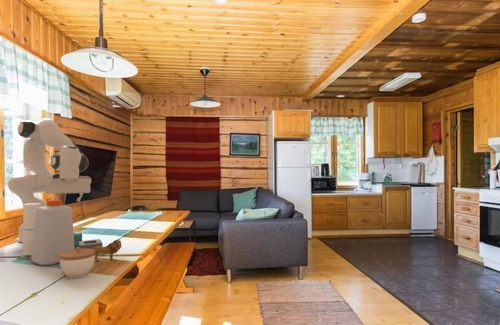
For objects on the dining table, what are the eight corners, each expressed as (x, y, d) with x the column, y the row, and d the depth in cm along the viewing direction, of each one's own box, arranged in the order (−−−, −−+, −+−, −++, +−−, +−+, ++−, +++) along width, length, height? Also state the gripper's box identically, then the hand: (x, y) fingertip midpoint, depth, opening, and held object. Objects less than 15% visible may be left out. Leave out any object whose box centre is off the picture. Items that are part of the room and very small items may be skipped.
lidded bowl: (87, 267, 131) (87, 242, 131) (100, 274, 123) (100, 247, 123) (54, 275, 121) (54, 248, 122) (66, 283, 113) (66, 253, 114)
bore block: (78, 251, 157) (78, 241, 157) (99, 248, 163) (99, 239, 163) (79, 255, 149) (80, 245, 149) (102, 252, 154) (102, 242, 155)
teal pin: (72, 248, 163) (73, 233, 163) (81, 247, 165) (81, 232, 165) (73, 249, 159) (73, 234, 160) (81, 248, 162) (82, 233, 162)
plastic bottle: (78, 259, 144) (79, 199, 144) (42, 267, 131) (43, 202, 132) (63, 253, 152) (64, 198, 153) (27, 261, 140) (29, 200, 140)
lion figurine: (120, 256, 148) (121, 238, 148) (121, 259, 143) (121, 240, 143) (86, 260, 141) (87, 241, 141) (86, 264, 136) (86, 243, 137)
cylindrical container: (31, 256, 148) (31, 204, 148) (18, 255, 149) (19, 204, 150) (43, 252, 155) (44, 203, 155) (32, 251, 156) (32, 202, 157)
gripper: (90, 176, 169) (90, 201, 168) (46, 175, 158) (45, 202, 157) (91, 175, 164) (91, 201, 163) (46, 175, 153) (45, 202, 152)
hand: (68, 202), depth 160 cm, fingers open, 8 cm apart
